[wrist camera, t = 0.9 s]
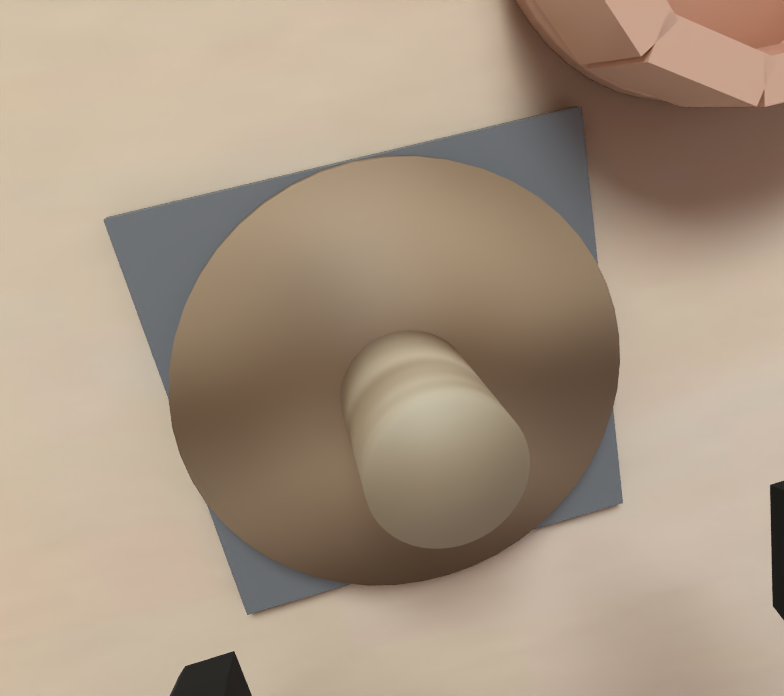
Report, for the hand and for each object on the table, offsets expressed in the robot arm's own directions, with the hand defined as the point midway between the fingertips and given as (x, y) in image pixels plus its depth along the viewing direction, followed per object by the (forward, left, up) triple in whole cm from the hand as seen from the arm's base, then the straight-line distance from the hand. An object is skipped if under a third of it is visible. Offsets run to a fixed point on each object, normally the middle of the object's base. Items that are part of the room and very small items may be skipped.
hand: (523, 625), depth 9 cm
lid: (0, 0, -9) cm, 9 cm away
